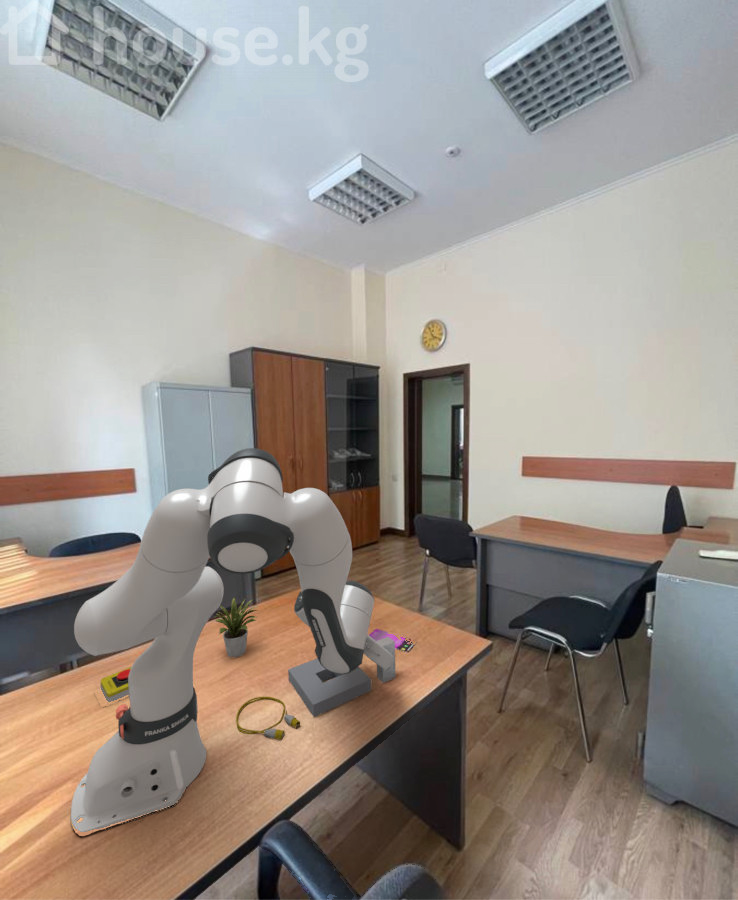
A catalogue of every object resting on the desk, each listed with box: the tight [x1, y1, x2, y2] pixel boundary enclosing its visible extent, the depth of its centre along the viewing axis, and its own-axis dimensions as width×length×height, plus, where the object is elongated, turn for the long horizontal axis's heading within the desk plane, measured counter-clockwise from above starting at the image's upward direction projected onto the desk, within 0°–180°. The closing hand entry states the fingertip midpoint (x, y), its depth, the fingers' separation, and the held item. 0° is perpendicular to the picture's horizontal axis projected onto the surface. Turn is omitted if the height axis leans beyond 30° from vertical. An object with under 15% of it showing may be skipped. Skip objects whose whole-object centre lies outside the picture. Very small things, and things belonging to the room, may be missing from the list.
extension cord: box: [235, 696, 301, 740], centre depth 90 cm, size 12×16×2 cm
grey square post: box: [376, 637, 397, 684], centre depth 104 cm, size 4×3×10 cm
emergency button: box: [99, 666, 132, 702], centre depth 104 cm, size 9×4×15 cm
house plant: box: [215, 597, 260, 658], centre depth 116 cm, size 14×14×16 cm
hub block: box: [287, 657, 372, 718], centre depth 102 cm, size 16×16×3 cm
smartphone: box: [368, 628, 415, 654], centre depth 122 cm, size 7×15×1 cm, turn 59°
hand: (380, 653), depth 102 cm, fingers open, 8 cm apart
